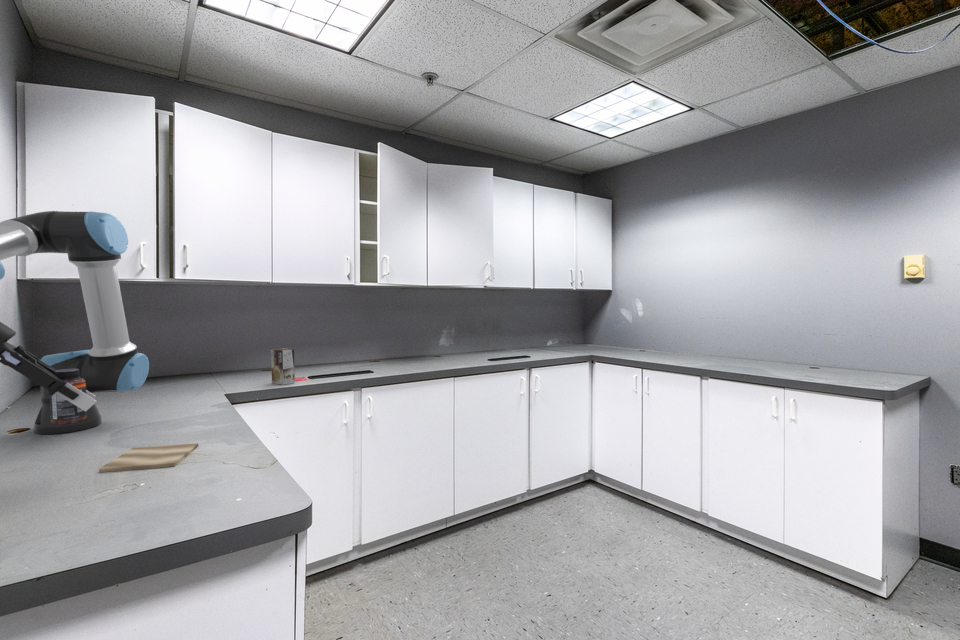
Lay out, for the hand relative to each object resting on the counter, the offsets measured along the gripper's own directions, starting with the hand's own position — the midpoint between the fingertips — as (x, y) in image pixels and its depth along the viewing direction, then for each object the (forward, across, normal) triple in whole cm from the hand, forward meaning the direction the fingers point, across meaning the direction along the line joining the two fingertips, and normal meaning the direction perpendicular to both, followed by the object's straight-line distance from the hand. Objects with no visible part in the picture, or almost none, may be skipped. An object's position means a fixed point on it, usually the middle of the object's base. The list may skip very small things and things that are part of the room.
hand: (90, 403), depth 100 cm
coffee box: (+60, -87, +38) cm, 112 cm away
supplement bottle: (0, 0, -5) cm, 5 cm away
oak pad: (+19, -3, -3) cm, 19 cm away
